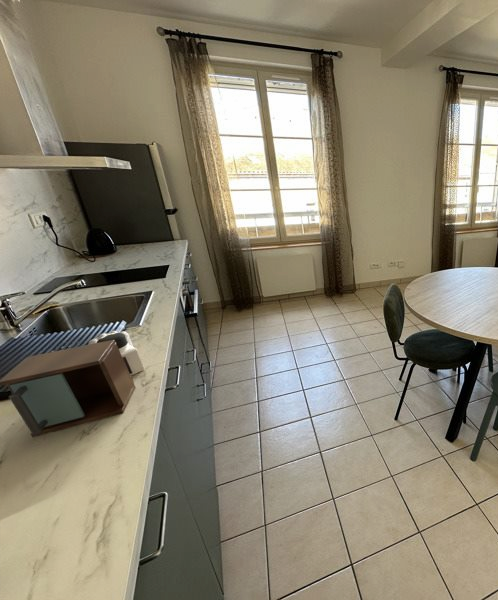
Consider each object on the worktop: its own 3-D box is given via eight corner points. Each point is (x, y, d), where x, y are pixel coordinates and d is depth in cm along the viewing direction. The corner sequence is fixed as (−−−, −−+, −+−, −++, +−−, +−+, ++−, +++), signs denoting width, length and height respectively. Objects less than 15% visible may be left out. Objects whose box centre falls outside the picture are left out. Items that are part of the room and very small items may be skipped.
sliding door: (26, 441, 75) (-3, 396, 70) (38, 427, 79) (11, 383, 74) (76, 428, 78) (51, 383, 73) (85, 414, 83) (61, 372, 78)
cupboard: (32, 437, 78) (-3, 382, 72) (55, 407, 88) (26, 357, 82) (123, 412, 85) (98, 360, 79) (135, 387, 95) (114, 339, 89)
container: (145, 369, 104) (130, 333, 98) (116, 382, 98) (98, 345, 93) (135, 362, 107) (120, 327, 102) (106, 375, 102) (88, 338, 96)
